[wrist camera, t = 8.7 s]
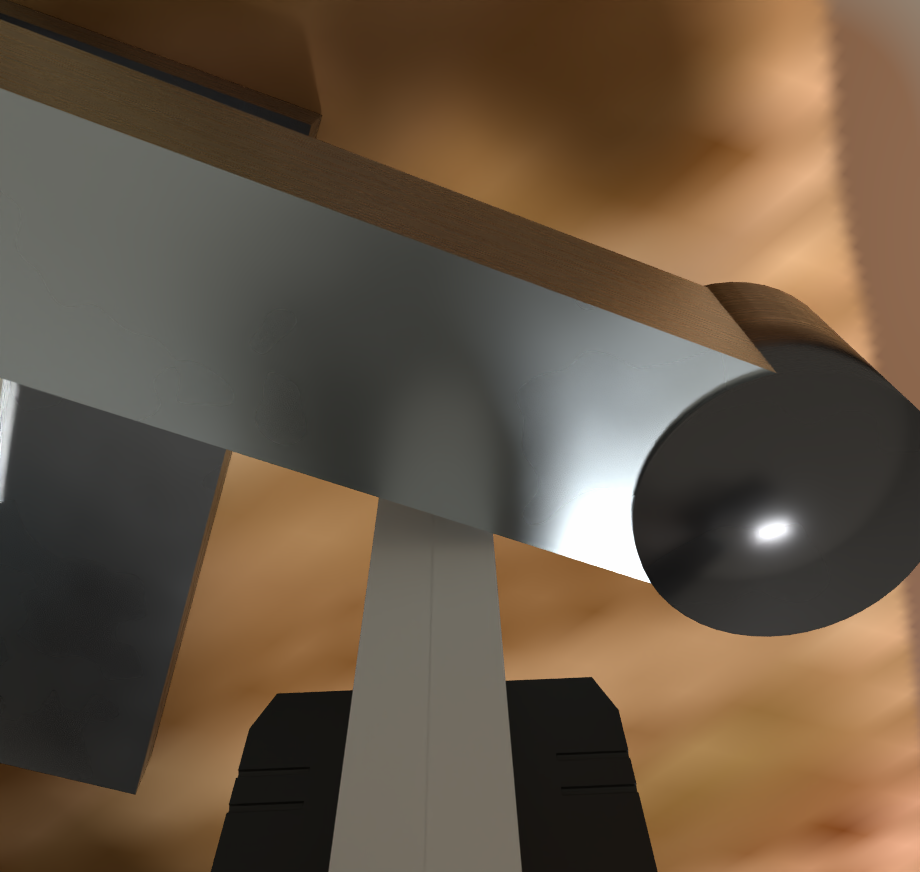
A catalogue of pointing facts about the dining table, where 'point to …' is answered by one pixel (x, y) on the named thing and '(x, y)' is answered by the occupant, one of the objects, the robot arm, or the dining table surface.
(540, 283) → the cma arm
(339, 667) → the dining table surface
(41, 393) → the plate
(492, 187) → the dining table surface
